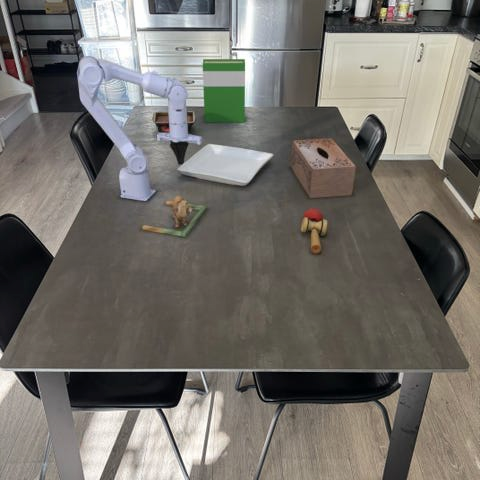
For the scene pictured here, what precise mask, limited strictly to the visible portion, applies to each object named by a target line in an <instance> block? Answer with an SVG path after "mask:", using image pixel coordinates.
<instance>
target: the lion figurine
mask: <svg viewBox="0 0 480 480" xmlns="http://www.w3.org/2000/svg"><path fill="white" fill-rule="evenodd" d="M188 204H189V203H188V201H187V200H184V198H183V197H182V195H178V194H177V195H176V196H174V197H173V206H172V207H173V210H172V211H173V215H172V218H173V219H174V221H175V225H174V226H175V228H180V222H179V220H182V224H183V226H187V225H188V224H189V222H187V217H188V215H191V214H192V212H193V210H194V209H193V208H192V207H190V206H189V205H188Z"/></svg>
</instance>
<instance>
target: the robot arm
mask: <svg viewBox="0 0 480 480" xmlns="http://www.w3.org/2000/svg"><path fill="white" fill-rule="evenodd" d="M76 75H77V83H78V92H79V94H78V95H79V99H80V102H81V104H82V105H83V106H84V108H85V109H86V111H88V113H89V114H90V115H91V116H92V118H93V119H94V120H95V122H96V123H97V124H98V125H99V126H100V127H101V129H102V130H103V131H104V133H105V134H106V135H107V136H108V138H109V139H110V140H111V141H112V143H113V144H114V145H115V146H116V147H117V149H118V150H119V152H120V153H121V155H122V157H123V159H124V160H125V161H126V163H127V164H126V167H125V166H124V167H122V168H121V169H120V171H119V176H118V180H119V187H120V193H121V194H120V198H122V199H128V200H136V201H142V202H147V201H148V200H149V199H150V198H151V197H152V196H153V195H154V194H155V193H156V192H157V190H156V189H152V188H151V178H150V169H149V162H148V159H147V157H146V155H145V151H144V149H143V147H142V146H140V145H138V144H136V143H135V142H134V140H133V139H131V138H130V136H129V135H128V134H127V133H126V132H125V130H124V129H123V127H122V126H121V125H120V124H119V122H118V121H117V120H116V118H115V117H114V116H113V114H112V113H111V112H110V110H108V108H107V107H106V106H105V104H104V103H103V102H102V100H100V98H99V96H98V95H99V89H100V86H101V85H102V83H103V81H104V82H105V83H108V82H110V81H112V80H114V79H115V80H119V81H122V82H127V83H130V84H134V85H137V86H140V87H141V88H142V90H143V92H144V93H148V94H151V95H154V96H157V97H160V98H163V99H166V98H167V105H168V106H167V112H168V114H169V127H170V132H167V133H159V132H158V133H157V134H156V140H157V141H159V142H161V141H167V142H170V143H169V147H170V150H172V152H173V155H174V156H175V158H176V162H177V164H178V166H179V165H180V166H181V165H182V164H184V163H185V157H186V152H187V150H188V146H189V145H190V144H196V145H198V146H200V145H202V143H203V136H199V135H195V134H191V133H188V125H187V111H188V110H187V109H188V108H187V99H188V96H189V93H188V90H187V89H186V87H185V85H184V84H183V82H182V81H180V80H179V79H177V78H176V77H171V76H168V77H167V76H165V75H164V76H163V75H161V74H158V72H157V71H156V70H152V71H147V72H144V73H141V72H138V71H136V70H134V69H130V68H128V67H125V66H122V65H120V64H117V63H116V62H112V61H109V60H107V59H105V58H100V57H98V58H96V57H95V56H92V55H85V56H83V57H81V59H80V60H79V62H78V67H77V71H76Z"/></svg>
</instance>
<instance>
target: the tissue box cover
mask: <svg viewBox="0 0 480 480" xmlns="http://www.w3.org/2000/svg"><path fill="white" fill-rule="evenodd" d="M290 161H291V162H290V169H291V170H292V172H293V173H294V175H295V176H296V178H297V180H298V181H299V183H300V185H301V186H302V188H303V190H304V191H305V192H306V194H307V195H308V197H309V199H318V198H331V197H344V196H345V197H346V196H352V195H353V189H354V183H355V182H354V181H355V176H356V168H357V166H356V165H355V163H354V162H352V160H351V159H350V158H349V157H348V155H347V154H346V153H345V152H344V151H343V150H342V148H340V146H339V145H338V144H337V142H336V141H334V139H333V138H332V137H329V138H312V139H297V140H292V146H291V160H290Z"/></svg>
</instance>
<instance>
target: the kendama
mask: <svg viewBox="0 0 480 480" xmlns="http://www.w3.org/2000/svg"><path fill="white" fill-rule="evenodd" d="M300 228H301V229H300V231H301V233H304V234H306V232H310V231H311V233H310V251H311V253H313V254H319V253H320V252H321V251H322V245H321V241H320V236H321V237H324V236H325V235H326V233H327V230H328V229H327V228H328V220H327V219H324V216H323V213H322V212H321V210H319V209H317V208H309V209H307V210H305V212H304V213H303V216H302V223H301V227H300Z"/></svg>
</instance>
